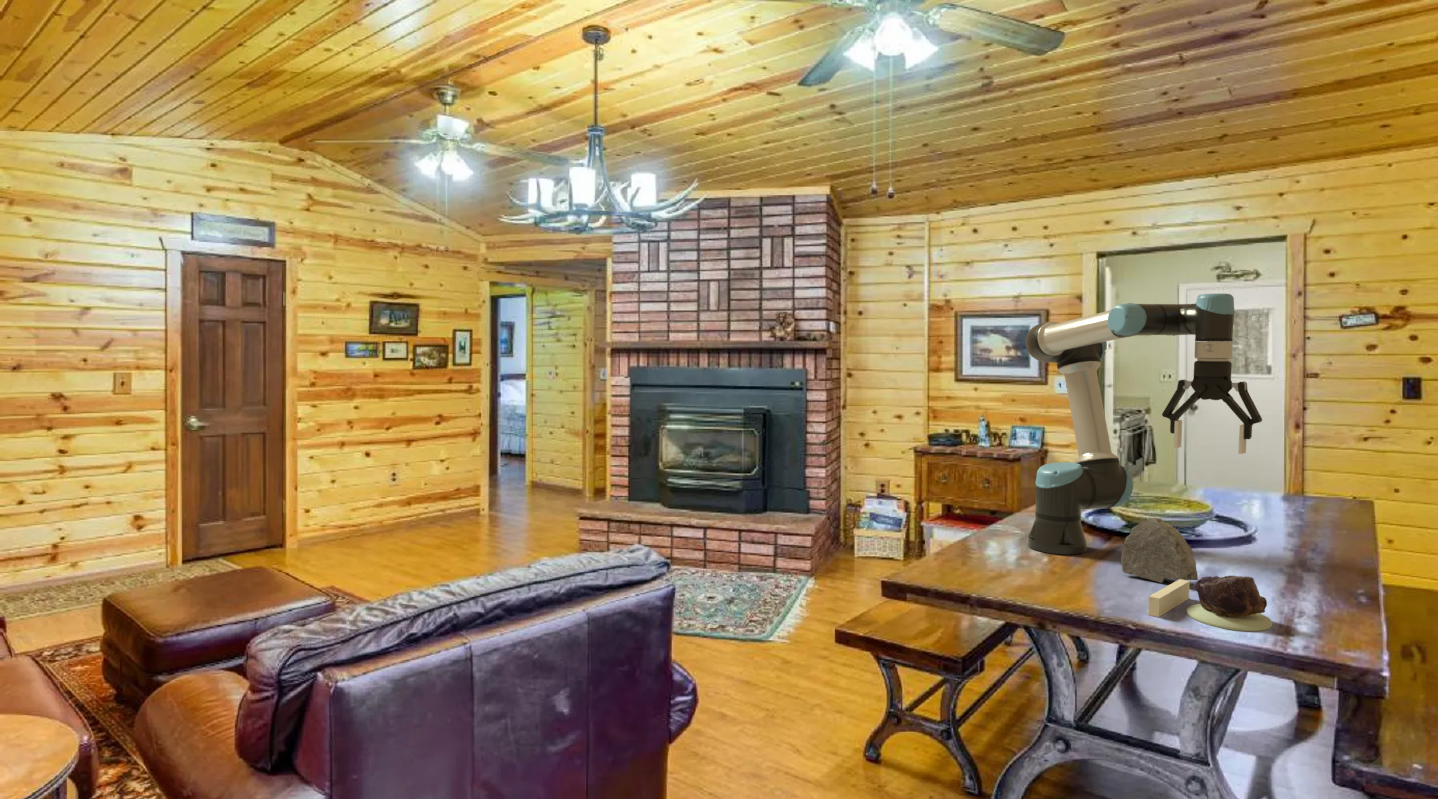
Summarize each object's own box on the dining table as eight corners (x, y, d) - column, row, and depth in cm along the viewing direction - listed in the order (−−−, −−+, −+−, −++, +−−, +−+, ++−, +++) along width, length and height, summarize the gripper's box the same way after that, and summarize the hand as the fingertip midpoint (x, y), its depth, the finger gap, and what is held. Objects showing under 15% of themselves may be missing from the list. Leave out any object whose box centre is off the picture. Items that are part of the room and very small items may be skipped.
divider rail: (1148, 614, 169) (1149, 596, 169) (1179, 596, 181) (1179, 579, 181) (1158, 617, 168) (1159, 598, 167) (1188, 598, 180) (1189, 581, 179)
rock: (1208, 609, 174) (1191, 618, 168) (1203, 569, 175) (1186, 577, 168) (1271, 614, 165) (1255, 624, 159) (1266, 572, 166) (1249, 581, 160)
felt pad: (1175, 617, 167) (1176, 614, 167) (1200, 601, 177) (1200, 599, 177) (1260, 637, 156) (1260, 634, 156) (1281, 619, 166) (1281, 616, 166)
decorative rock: (1117, 575, 197) (1119, 515, 196) (1127, 570, 202) (1129, 511, 201) (1190, 590, 185) (1193, 526, 184) (1200, 584, 190) (1202, 522, 189)
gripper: (1149, 359, 195) (1146, 446, 196) (1271, 361, 176) (1266, 457, 178) (1161, 358, 200) (1158, 443, 201) (1280, 360, 181) (1275, 454, 183)
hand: (1208, 450), depth 189 cm, fingers open, 13 cm apart
